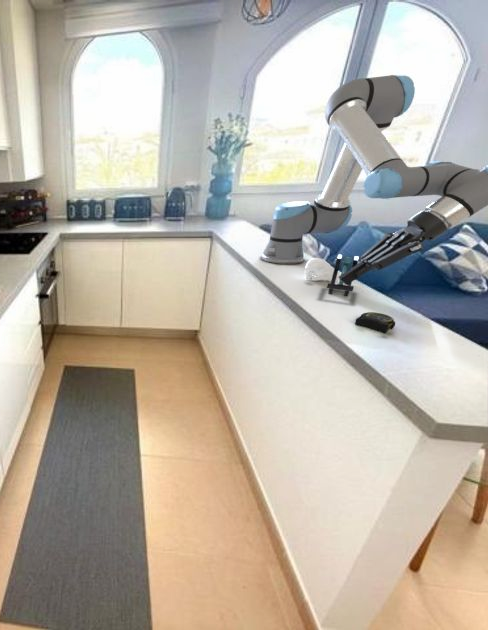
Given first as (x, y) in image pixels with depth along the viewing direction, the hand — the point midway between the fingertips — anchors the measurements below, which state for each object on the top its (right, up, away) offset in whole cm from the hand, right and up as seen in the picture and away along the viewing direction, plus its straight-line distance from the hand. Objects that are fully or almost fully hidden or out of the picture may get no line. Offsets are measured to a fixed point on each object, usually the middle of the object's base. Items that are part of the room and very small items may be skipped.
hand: (342, 281), depth 98 cm
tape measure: (0, -14, -10) cm, 17 cm away
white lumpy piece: (+10, +1, +21) cm, 24 cm away
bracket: (+7, -4, +11) cm, 13 cm away
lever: (+4, +2, +5) cm, 6 cm away
